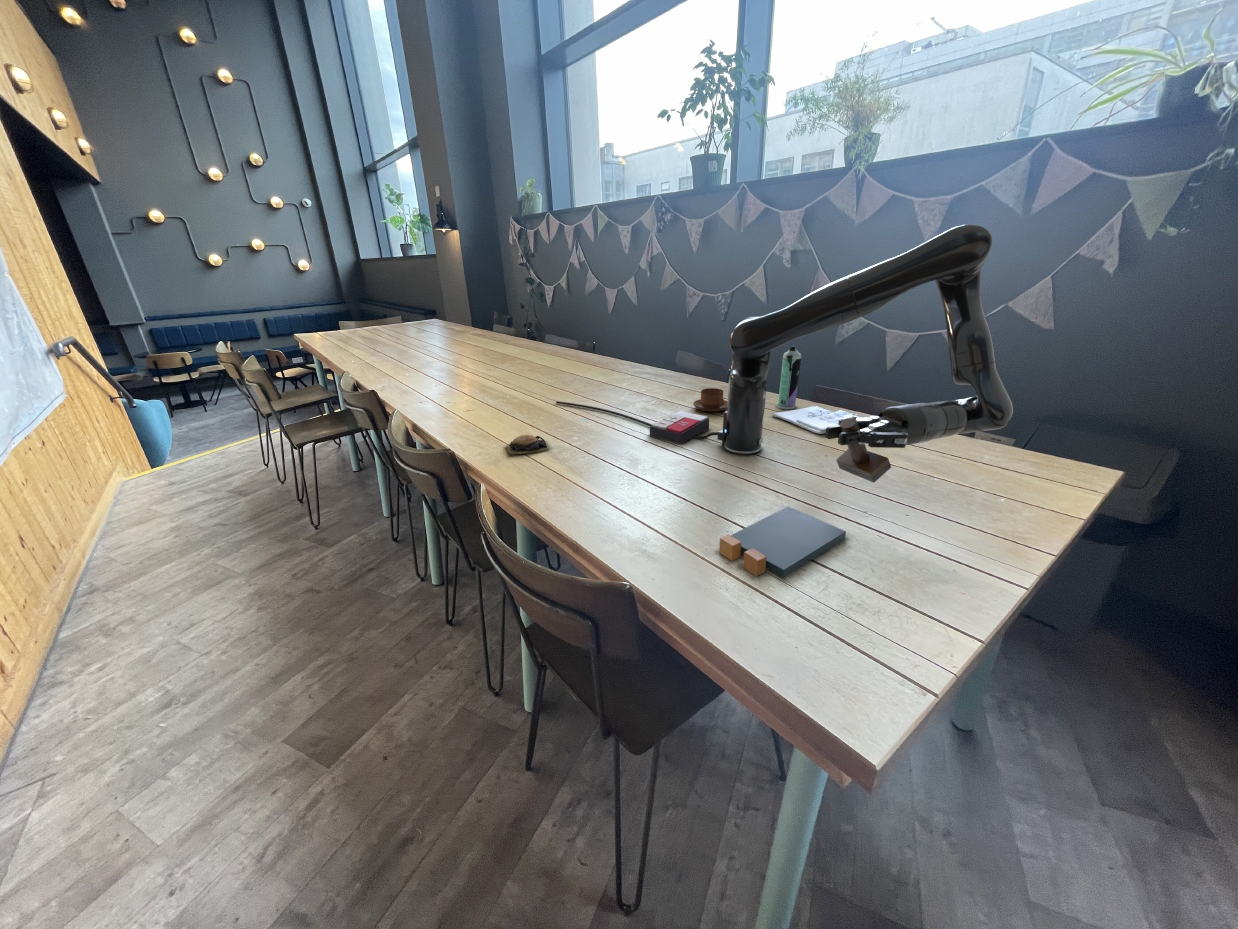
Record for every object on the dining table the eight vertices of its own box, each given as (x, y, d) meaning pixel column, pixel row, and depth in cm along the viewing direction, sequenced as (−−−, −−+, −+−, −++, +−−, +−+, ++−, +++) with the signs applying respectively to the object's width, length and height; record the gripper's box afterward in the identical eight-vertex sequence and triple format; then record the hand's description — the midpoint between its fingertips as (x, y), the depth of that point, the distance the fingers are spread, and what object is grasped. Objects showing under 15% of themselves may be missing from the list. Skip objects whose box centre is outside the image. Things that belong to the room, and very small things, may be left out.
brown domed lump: (509, 457, 124) (507, 444, 122) (506, 446, 131) (504, 433, 130) (549, 451, 127) (548, 438, 125) (543, 440, 134) (542, 428, 132)
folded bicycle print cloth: (819, 435, 131) (821, 428, 130) (771, 416, 148) (771, 409, 147) (869, 425, 138) (870, 418, 137) (817, 407, 155) (818, 401, 154)
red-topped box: (648, 423, 133) (678, 408, 143) (649, 437, 135) (678, 421, 145) (681, 431, 127) (709, 415, 137) (681, 446, 128) (709, 428, 138)
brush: (839, 468, 92) (821, 425, 87) (855, 454, 93) (839, 410, 87) (874, 483, 85) (857, 436, 80) (891, 467, 86) (876, 420, 80)
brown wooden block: (727, 548, 82) (718, 552, 81) (728, 534, 81) (719, 537, 80) (740, 557, 79) (731, 561, 78) (741, 541, 78) (732, 545, 77)
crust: (751, 563, 78) (742, 567, 77) (753, 547, 77) (743, 551, 76) (765, 572, 75) (756, 576, 74) (767, 556, 74) (757, 560, 73)
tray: (724, 544, 83) (725, 537, 82) (787, 512, 92) (788, 506, 92) (782, 577, 74) (783, 570, 73) (844, 538, 84) (846, 531, 83)
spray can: (796, 409, 154) (803, 347, 146) (778, 409, 155) (785, 347, 147) (793, 404, 158) (801, 344, 150) (776, 404, 160) (783, 344, 152)
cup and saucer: (736, 408, 157) (737, 390, 155) (717, 416, 149) (718, 397, 147) (706, 402, 165) (706, 384, 162) (686, 410, 157) (686, 392, 154)
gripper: (885, 395, 93) (810, 405, 88) (949, 415, 80) (866, 428, 76) (878, 431, 96) (805, 442, 91) (939, 455, 83) (858, 470, 79)
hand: (833, 436), depth 84 cm, fingers closed on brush, 3 cm apart
